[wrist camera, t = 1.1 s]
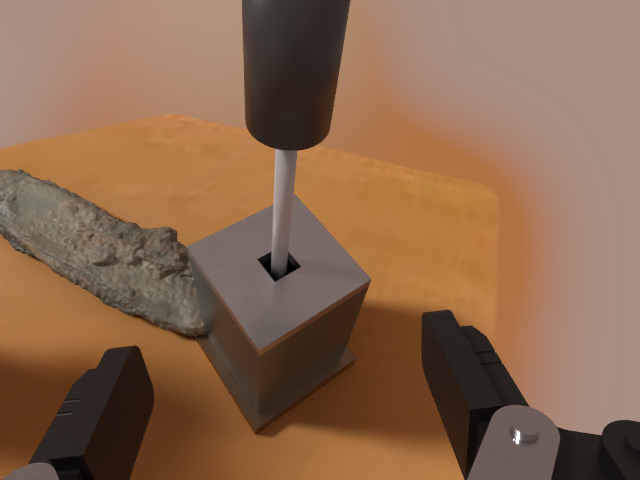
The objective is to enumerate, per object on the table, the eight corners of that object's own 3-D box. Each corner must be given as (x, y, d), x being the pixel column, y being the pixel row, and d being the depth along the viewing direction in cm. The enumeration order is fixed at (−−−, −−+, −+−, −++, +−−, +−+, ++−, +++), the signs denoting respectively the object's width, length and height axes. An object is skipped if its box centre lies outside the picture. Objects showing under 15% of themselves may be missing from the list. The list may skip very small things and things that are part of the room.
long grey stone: (28, 174, 60) (-39, 226, 55) (7, 143, 56) (-68, 197, 51) (254, 288, 51) (199, 364, 46) (249, 261, 47) (188, 342, 42)
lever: (240, 282, 38) (218, -60, 18) (284, 258, 40) (311, -77, 19) (269, 323, 36) (284, -7, 16) (314, 295, 38) (379, -32, 18)
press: (193, 335, 48) (168, 243, 35) (288, 280, 53) (297, 182, 40) (255, 434, 43) (254, 371, 30) (353, 363, 48) (389, 282, 35)
